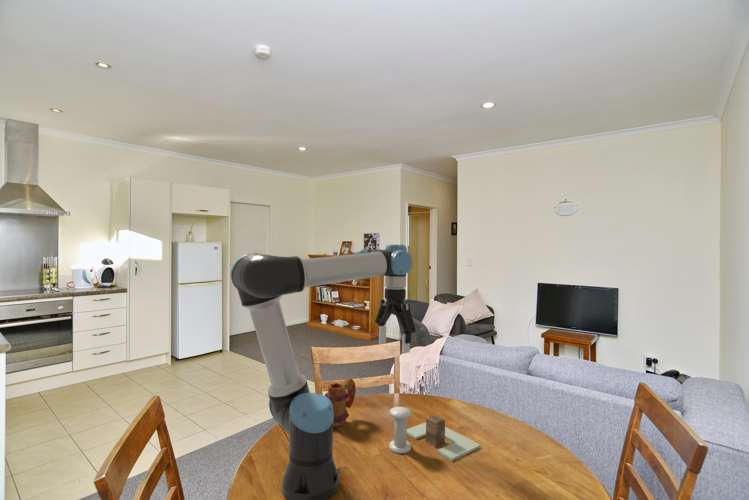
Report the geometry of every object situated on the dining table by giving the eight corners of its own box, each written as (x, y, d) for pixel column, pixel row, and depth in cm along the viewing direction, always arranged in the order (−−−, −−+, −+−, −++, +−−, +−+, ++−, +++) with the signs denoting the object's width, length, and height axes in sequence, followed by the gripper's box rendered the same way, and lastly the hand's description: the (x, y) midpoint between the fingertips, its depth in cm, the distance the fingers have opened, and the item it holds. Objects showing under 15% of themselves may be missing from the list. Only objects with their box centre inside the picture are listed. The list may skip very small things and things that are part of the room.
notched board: (451, 461, 116) (451, 458, 116) (404, 432, 134) (404, 430, 133) (480, 447, 124) (480, 445, 124) (432, 422, 142) (432, 419, 142)
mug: (335, 432, 133) (336, 389, 133) (319, 425, 138) (319, 384, 138) (361, 417, 144) (362, 378, 144) (345, 411, 149) (346, 373, 149)
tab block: (435, 447, 124) (435, 423, 124) (425, 441, 128) (426, 417, 128) (444, 443, 127) (445, 419, 127) (435, 437, 130) (435, 414, 130)
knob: (398, 456, 118) (399, 418, 118) (385, 446, 124) (385, 410, 124) (415, 449, 122) (416, 412, 122) (401, 440, 128) (401, 405, 128)
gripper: (427, 291, 125) (425, 355, 125) (383, 284, 146) (381, 339, 146) (410, 292, 121) (408, 358, 121) (367, 285, 141) (365, 341, 141)
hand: (393, 348), depth 133 cm, fingers open, 13 cm apart
